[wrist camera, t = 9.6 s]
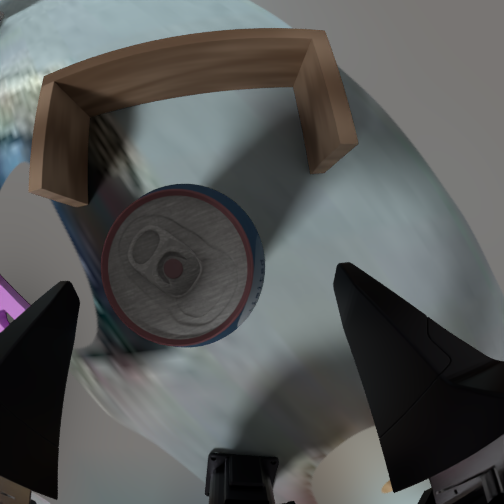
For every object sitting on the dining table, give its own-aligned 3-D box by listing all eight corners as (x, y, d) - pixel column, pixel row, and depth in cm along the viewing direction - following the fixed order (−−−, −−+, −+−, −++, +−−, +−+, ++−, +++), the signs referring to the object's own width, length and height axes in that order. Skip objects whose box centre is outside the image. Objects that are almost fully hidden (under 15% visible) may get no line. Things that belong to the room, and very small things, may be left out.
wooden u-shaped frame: (324, 173, 23) (358, 143, 16) (76, 207, 21) (28, 192, 14) (303, 78, 23) (324, 30, 16) (80, 111, 21) (44, 76, 14)
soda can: (268, 250, 22) (309, 246, 10) (214, 323, 22) (199, 395, 10) (194, 197, 22) (157, 138, 10) (143, 270, 22) (59, 286, 10)
